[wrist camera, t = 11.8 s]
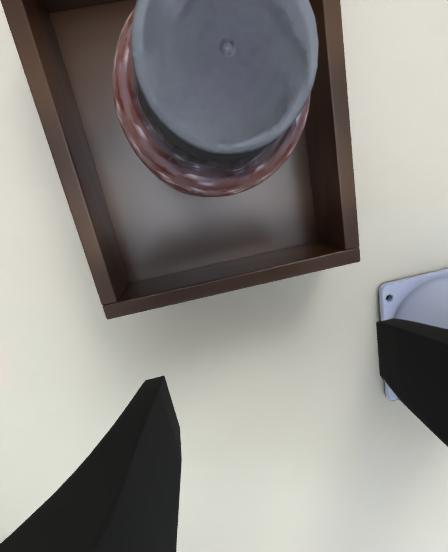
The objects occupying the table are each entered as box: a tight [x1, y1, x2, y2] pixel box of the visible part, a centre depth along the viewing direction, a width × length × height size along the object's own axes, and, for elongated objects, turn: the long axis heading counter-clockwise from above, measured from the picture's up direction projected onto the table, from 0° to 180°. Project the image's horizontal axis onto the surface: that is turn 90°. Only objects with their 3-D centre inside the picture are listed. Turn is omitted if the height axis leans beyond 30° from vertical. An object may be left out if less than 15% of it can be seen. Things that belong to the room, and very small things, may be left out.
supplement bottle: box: [112, 0, 319, 197], centre depth 12 cm, size 6×6×11 cm
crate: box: [1, 0, 360, 319], centre depth 16 cm, size 16×14×4 cm
